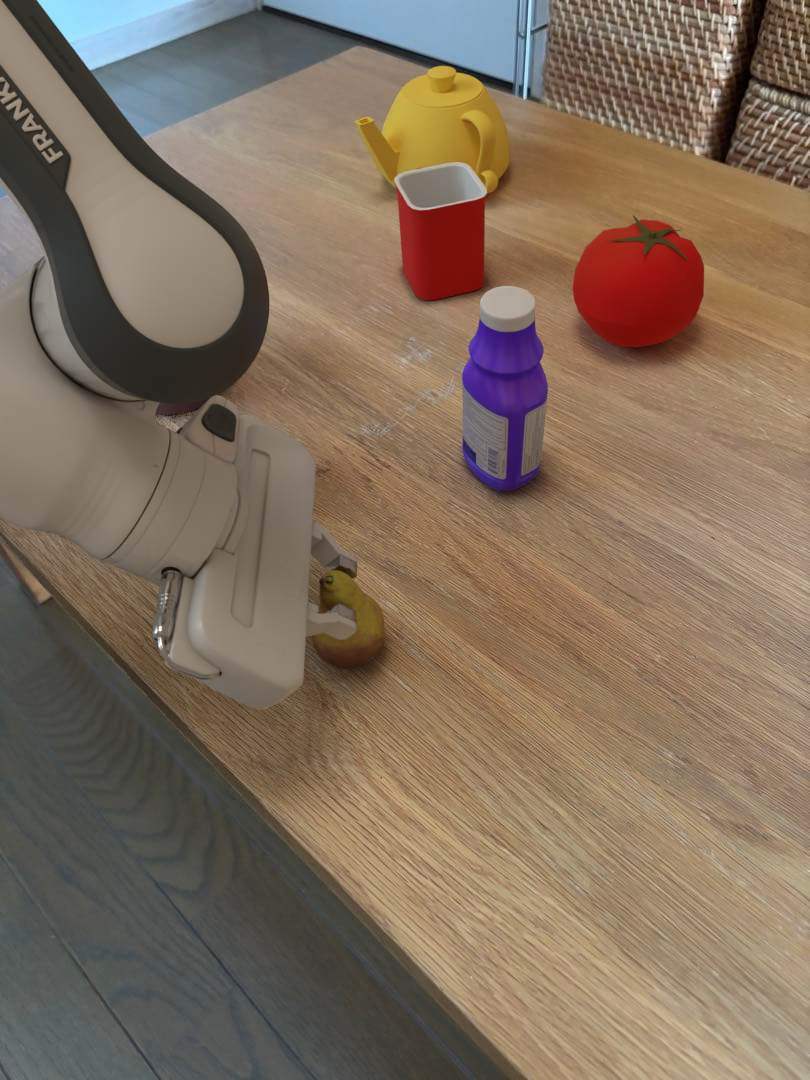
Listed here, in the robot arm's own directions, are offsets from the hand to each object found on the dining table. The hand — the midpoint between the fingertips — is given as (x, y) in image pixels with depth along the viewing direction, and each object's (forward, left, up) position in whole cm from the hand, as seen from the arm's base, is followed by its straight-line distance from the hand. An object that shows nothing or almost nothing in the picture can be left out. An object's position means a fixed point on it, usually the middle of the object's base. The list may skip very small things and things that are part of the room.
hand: (351, 598), depth 60 cm
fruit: (-1, 0, -7) cm, 7 cm away
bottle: (+12, +18, -7) cm, 23 cm away
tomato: (+27, +37, -7) cm, 47 cm away
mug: (+8, +50, -7) cm, 51 cm away
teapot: (+9, +69, -7) cm, 70 cm away
